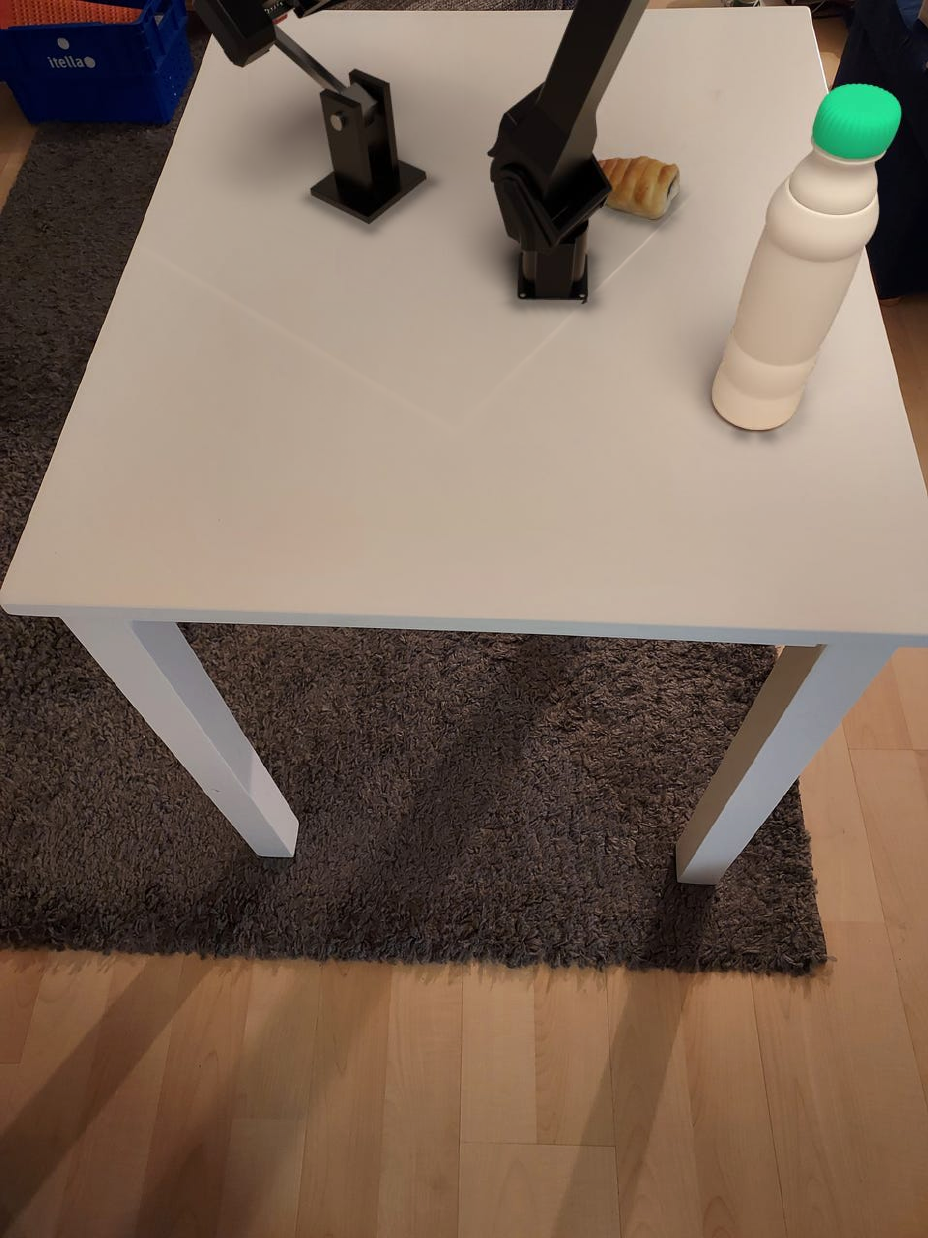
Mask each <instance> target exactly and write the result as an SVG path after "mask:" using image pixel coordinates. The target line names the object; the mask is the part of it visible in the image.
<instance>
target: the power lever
mask: <svg viewBox="0 0 928 1238" xmlns="http://www.w3.org/2000/svg"><path fill="white" fill-rule="evenodd" d="M288 14H289V13H287V14H286V15H284V16H282V17H281V18H279V19H278V20H276V21H274V22H273V23H274V28H275V32H276V37H277V40H276V41H275V43H274V45H273V46H275V47H276V48H277V49H278V50H279V51H281V52H282V53H283V55H285V56H286V57H288V58H289V59H290V61H292V62H293V63H294V64H295V65H297V67H299V68H300V69H301V70H302V71H303V72H304V73H305V74H306V75H308V76H309V77H310V78H311V79H312V80H314V82H316V83H317V84H318V85H319V86H320V87H321V88H323V90H324V89H326V88H327V89H330V90H332V91H334V92H336V93H339V94H341V95H343V96H345V97H348V98H350V99H352V100H354V101H357V102H359V103H361V106H362V113H363V120H364V127H365V128H366V127H368V126H369V125H371V124H372V123H373V122H374V120H375V114H376V107H377V100H376V99H375V98H373V97H372V96H371V95H370V94H369V93H368V92H367V91H365V90H364V89H363V88H362V87H361V86H360V85H359V84H358V83H356V82H355V83H353V84H352V85H350V84H349V86H346V85H345V84H344V83H343V82H341V81H340V80H339V79H338V78H337V77H336V76H335V75H333V73H331V71H330V70H328V69H327V68H326V67H325V66H323V65H322V64H321V63H320V62H319V61H318V60H317V59H315V58H314V57H313V56H312V55H311V54H310V53H309V52H308V51H306V50H305V49H304V48H303V47H302V46H301V45H300V44H299V43H298V42H296V41H295V40H294V39H293V38H291V36H290V35H288V34H287V33H286V32H285V31H284V30H283V29H281V28H280V27H279V26H278V24H280V23H282V22H284V21H285V20H287V18H288Z"/></svg>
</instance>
